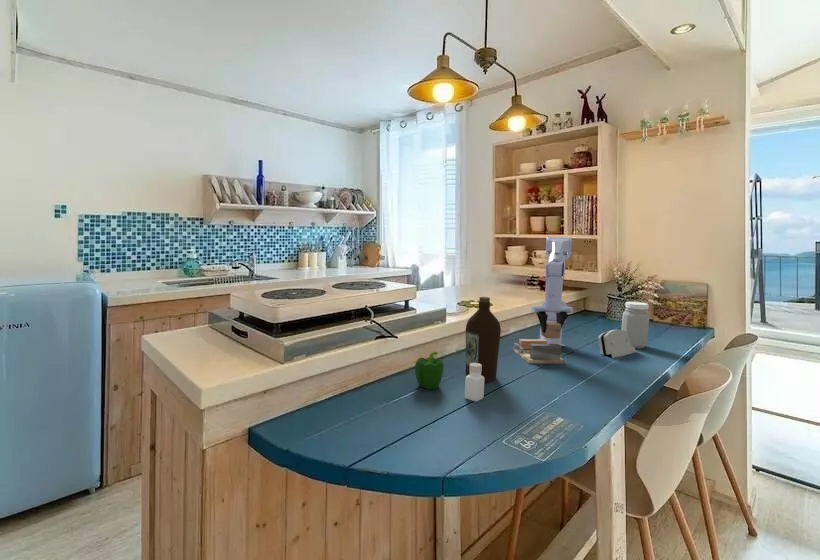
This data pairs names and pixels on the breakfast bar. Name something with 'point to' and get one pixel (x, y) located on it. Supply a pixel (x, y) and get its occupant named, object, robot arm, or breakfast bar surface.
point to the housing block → (552, 330)
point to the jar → (636, 323)
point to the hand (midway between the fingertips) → (550, 332)
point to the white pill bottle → (474, 383)
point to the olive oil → (483, 340)
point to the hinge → (615, 343)
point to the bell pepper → (429, 371)
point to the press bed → (526, 357)
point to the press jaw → (530, 342)
